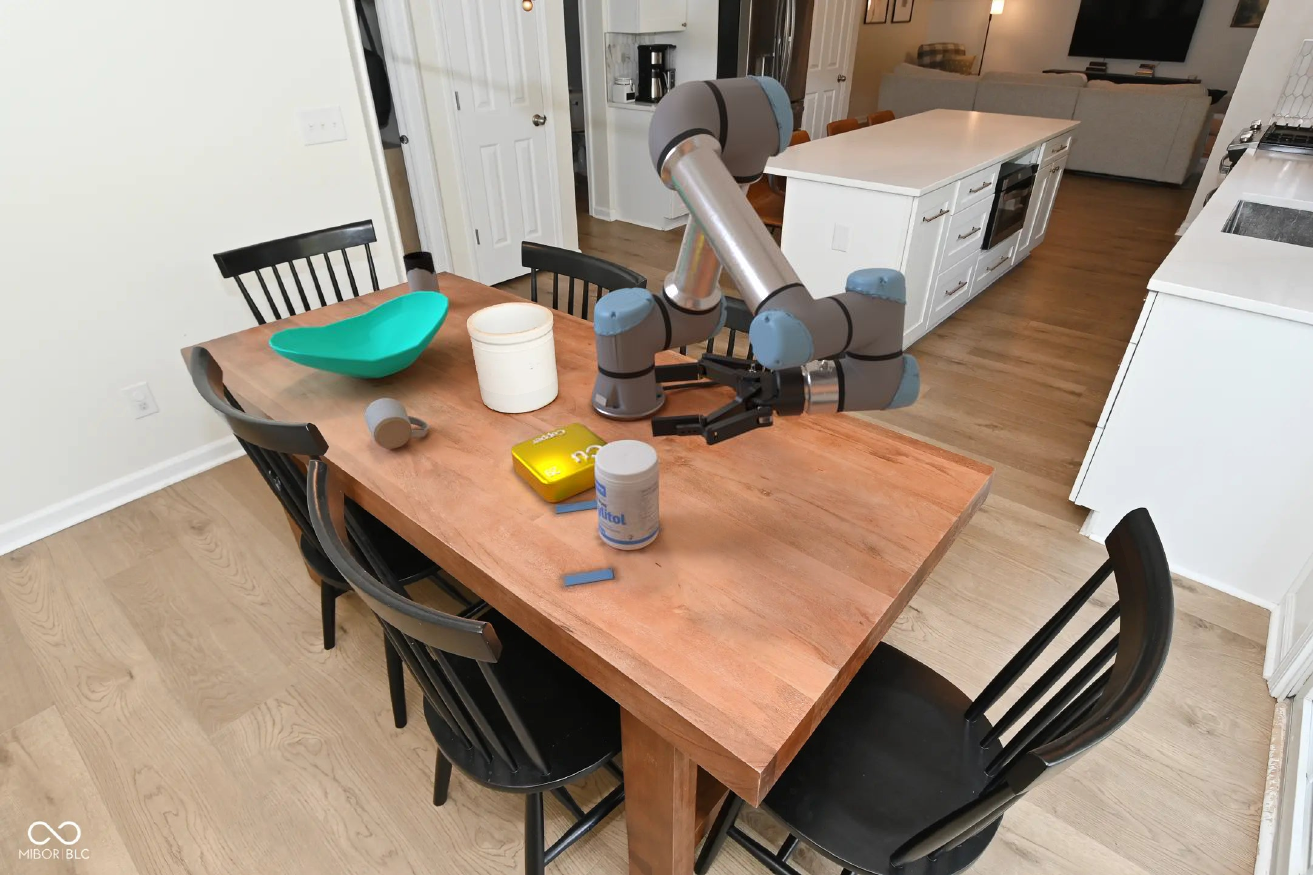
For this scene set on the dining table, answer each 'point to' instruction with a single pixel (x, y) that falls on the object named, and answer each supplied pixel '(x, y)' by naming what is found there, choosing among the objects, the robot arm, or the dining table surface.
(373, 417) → the ceramic mug
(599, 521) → the supplement tub
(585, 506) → the tape marks
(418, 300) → the table top decor
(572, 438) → the element tile
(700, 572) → the dining table surface
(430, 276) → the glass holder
